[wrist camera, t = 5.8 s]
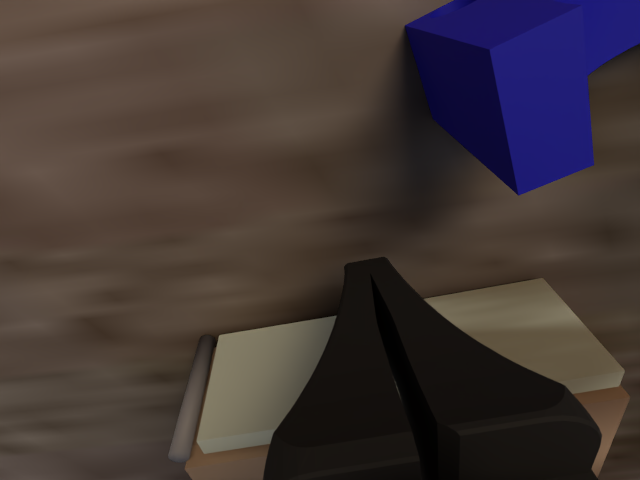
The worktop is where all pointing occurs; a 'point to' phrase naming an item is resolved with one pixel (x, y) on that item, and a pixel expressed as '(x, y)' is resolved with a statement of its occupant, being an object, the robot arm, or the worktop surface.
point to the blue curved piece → (520, 78)
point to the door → (247, 385)
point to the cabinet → (507, 340)
